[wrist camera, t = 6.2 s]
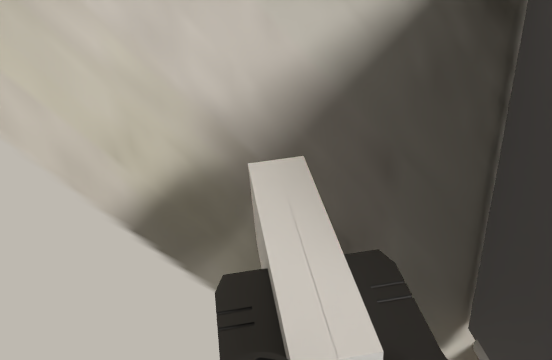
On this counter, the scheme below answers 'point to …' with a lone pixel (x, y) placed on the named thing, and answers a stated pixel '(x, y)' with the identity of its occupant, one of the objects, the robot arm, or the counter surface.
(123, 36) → the counter surface
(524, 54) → the door
